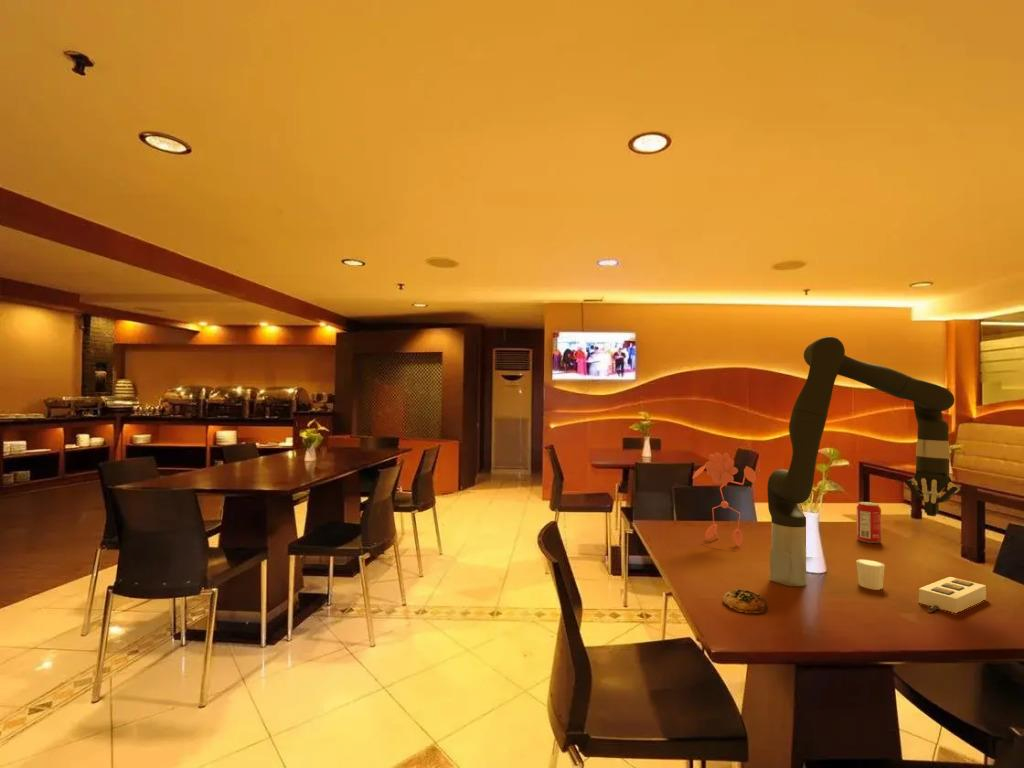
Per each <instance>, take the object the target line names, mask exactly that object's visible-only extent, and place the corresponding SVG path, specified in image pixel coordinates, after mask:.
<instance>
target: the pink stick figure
mask: <svg viewBox="0 0 1024 768" xmlns="http://www.w3.org/2000/svg"><path fill="white" fill-rule="evenodd" d="M708 459H709V461H706V462H705V464H704V465H702V466H700V467H699V468H698V469H697V470H696V471H695V473H694V474H693V476H692V477H691V478H692V480H695V478H697V477H699V476H700V475H701V474H702V473H704V471H705V470H706V475H707V476H710V477H711V480H712V482H713V483H715V484H722V485H721V486H720V487H719V490H720V494H721V498H722V501H721V503H720V504H719V505H717V506H715V507H712V523H713V524H711V525H710V526H709V527H708V528H707V530H706V532H705V535H704V536H705V539H707V540H710V539H711V538H713V537H714V536H716V539H717V538H718V539H719V536H718V532H717V531H718V525H717V524H716V523H715V517H714V515H715V514H714V513H715V511H714V509H716V508H719V507H721V508H723V509H728V508H729V509H731V511H734V512H736V513H738V514H739V515H738V521H737V527H736V528H735V529H734V530H733V531H732V536H731V538H732V541H733V542H734V543H735V545H736V546H737V547H738V546H739V547H740V546H741V545H742V543H743V541H744V536H743V533H742V531H741V530H740V529H739V526H740V522H741V515H742V514H741V512H739V511H737V510H736V509H734V508H733V507H730V506H729V502H727V501H725V498H724V494H723V491H722V488H723V487H724V486H726V485H728V483H732V484H736V485H741V486H744V484H745V480H747V481H749V482H751V483H752V484H755V483H756V480H757V474H756V472H755V470H754V469H753V468H752V467H749V466H748V465H746V466H745V468H744V469H743V480H742V482H738V481H734V480H735V479H734V478H735V477H734V476H735V475H736V474H738V473H739V469H738V467H736V466H734V465H735V460H733V459H731V456H730V454H729V453H728V452H725V453H723V455H722V454H721V453H719V451H718V452H717V451H716V452H714V454H711V453H710V454H708Z"/></svg>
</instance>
